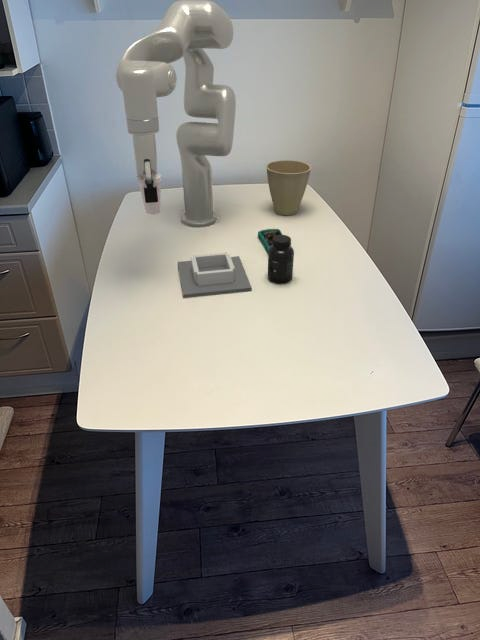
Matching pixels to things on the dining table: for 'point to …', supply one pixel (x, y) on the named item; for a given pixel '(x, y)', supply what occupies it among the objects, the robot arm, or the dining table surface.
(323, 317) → the dining table surface
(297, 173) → the plant pot
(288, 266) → the supplement bottle
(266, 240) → the digital multimeter
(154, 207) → the smoothie
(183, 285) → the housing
